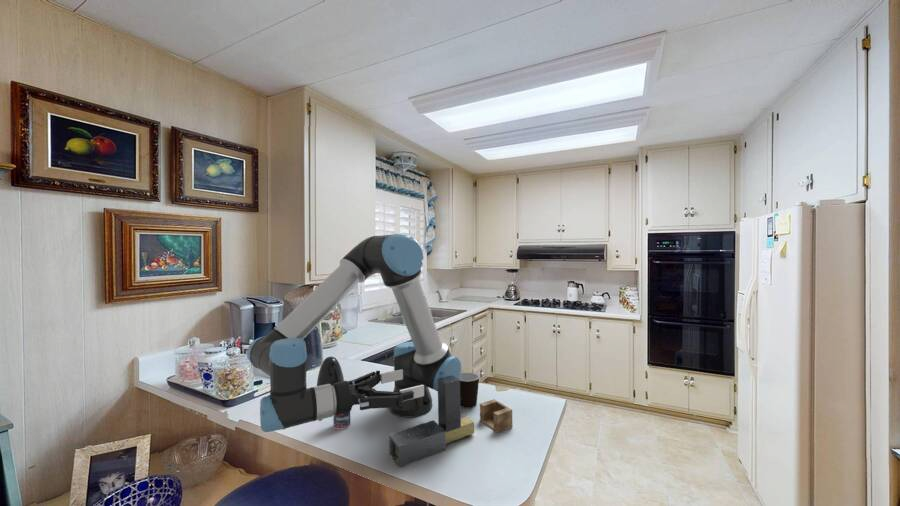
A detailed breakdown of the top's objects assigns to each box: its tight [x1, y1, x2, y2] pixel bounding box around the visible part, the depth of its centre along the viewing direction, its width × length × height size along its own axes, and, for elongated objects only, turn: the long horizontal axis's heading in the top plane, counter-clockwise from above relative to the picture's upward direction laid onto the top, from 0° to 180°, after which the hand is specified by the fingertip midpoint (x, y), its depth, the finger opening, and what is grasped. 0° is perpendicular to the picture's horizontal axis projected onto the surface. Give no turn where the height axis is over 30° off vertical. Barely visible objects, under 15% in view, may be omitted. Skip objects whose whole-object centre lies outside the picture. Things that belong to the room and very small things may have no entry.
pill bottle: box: [332, 411, 351, 431], centre depth 109 cm, size 5×5×9 cm
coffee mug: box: [459, 371, 480, 409], centre depth 124 cm, size 12×9×10 cm
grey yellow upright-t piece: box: [395, 375, 475, 456], centre depth 97 cm, size 24×4×17 cm, turn 121°
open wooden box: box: [479, 398, 514, 434], centre depth 109 cm, size 6×9×6 cm, turn 31°
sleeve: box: [388, 420, 447, 468], centre depth 94 cm, size 14×7×6 cm, turn 121°
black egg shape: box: [316, 356, 345, 386], centre depth 132 cm, size 10×10×15 cm
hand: (412, 381), depth 93 cm, fingers open, 13 cm apart
